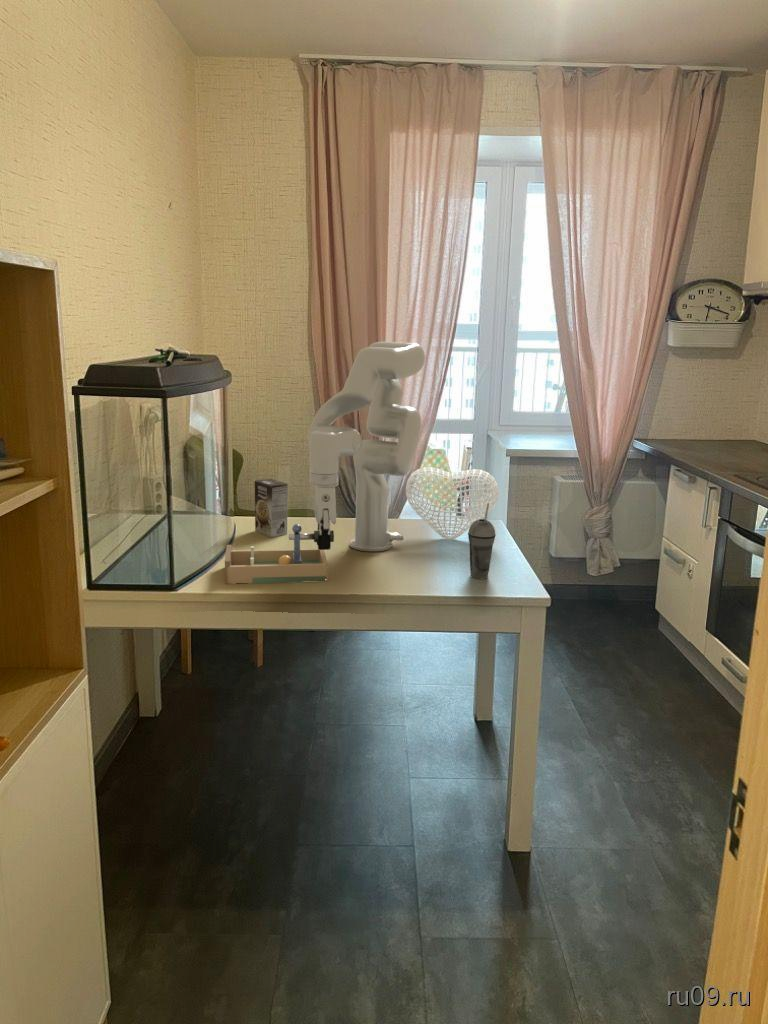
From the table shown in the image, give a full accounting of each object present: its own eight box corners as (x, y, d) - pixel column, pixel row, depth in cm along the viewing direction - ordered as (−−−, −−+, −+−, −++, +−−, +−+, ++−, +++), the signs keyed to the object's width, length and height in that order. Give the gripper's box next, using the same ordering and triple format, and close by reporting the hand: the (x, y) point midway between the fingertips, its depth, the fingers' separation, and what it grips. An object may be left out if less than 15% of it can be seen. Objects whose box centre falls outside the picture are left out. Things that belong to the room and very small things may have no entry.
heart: (494, 535, 248) (498, 465, 242) (496, 549, 233) (501, 476, 227) (405, 530, 250) (408, 461, 245) (401, 544, 235) (404, 471, 230)
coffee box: (254, 531, 245) (253, 480, 241) (271, 527, 249) (270, 477, 245) (271, 537, 238) (270, 485, 234) (288, 534, 242) (288, 483, 238)
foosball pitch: (323, 564, 215) (323, 543, 214) (327, 581, 202) (328, 559, 200) (227, 566, 211) (226, 544, 210) (225, 584, 198) (224, 561, 196)
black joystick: (331, 561, 212) (332, 520, 209) (334, 569, 205) (334, 527, 202) (288, 562, 210) (288, 520, 207) (289, 570, 203) (289, 528, 200)
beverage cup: (464, 571, 213) (468, 499, 208) (491, 572, 212) (496, 500, 207) (466, 580, 206) (470, 506, 201) (494, 581, 205) (499, 507, 200)
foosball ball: (291, 565, 208) (291, 553, 207) (292, 570, 205) (292, 557, 204) (278, 566, 208) (278, 553, 207) (278, 570, 204) (278, 557, 204)
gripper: (342, 485, 195) (341, 556, 199) (335, 472, 210) (334, 538, 215) (312, 485, 194) (311, 557, 198) (307, 472, 209) (306, 538, 214)
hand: (323, 546), depth 207 cm, fingers closed on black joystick, 3 cm apart
